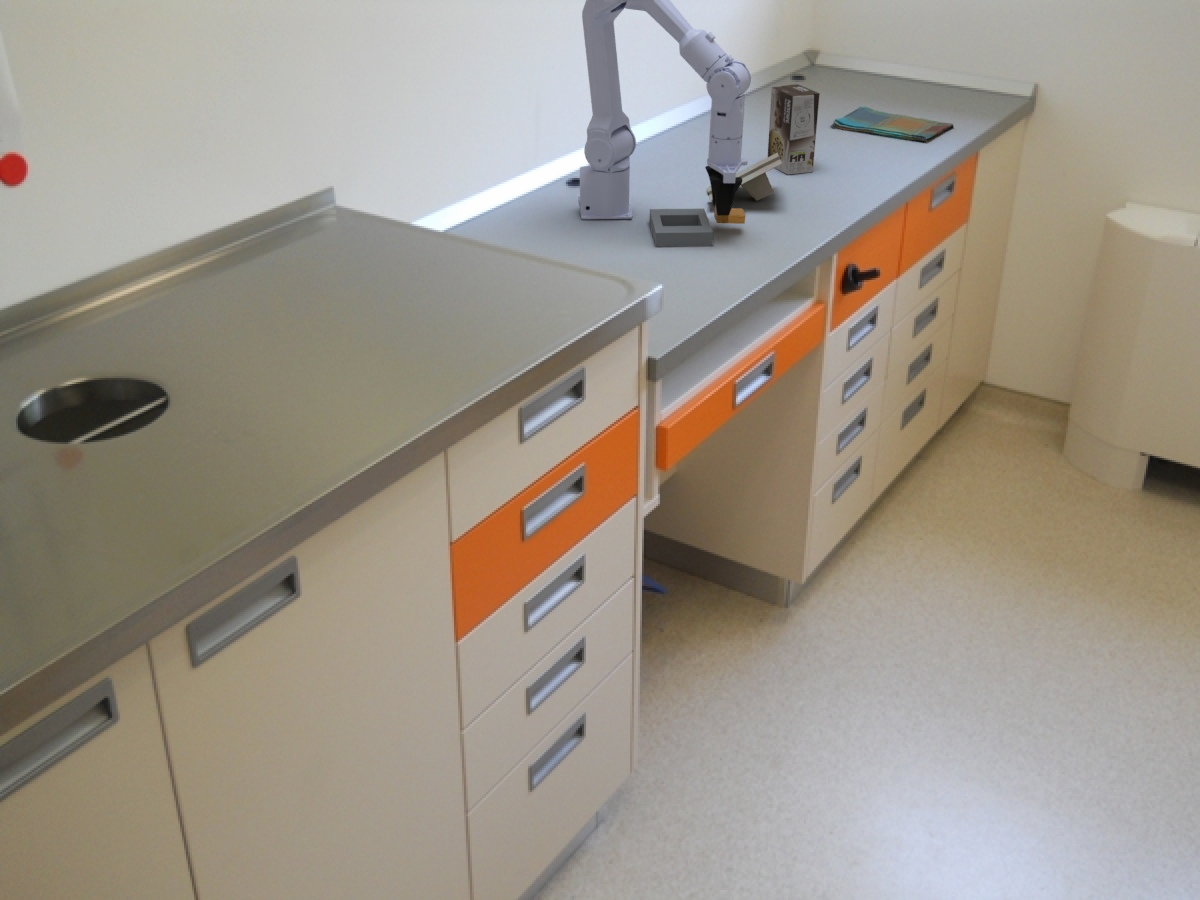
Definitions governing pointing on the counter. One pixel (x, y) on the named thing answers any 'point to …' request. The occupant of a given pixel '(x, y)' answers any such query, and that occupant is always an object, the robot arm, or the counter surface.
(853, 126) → the dish towel
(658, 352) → the counter surface
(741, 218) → the wooden step block
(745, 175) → the beige footed plank
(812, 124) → the coffee box
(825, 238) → the counter surface
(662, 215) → the well block
